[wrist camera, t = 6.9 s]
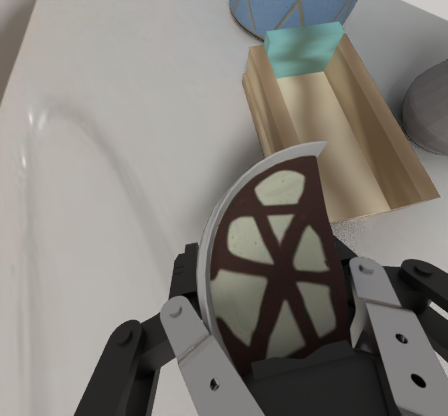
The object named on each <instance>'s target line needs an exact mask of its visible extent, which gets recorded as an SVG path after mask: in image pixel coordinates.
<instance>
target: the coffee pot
mask: <svg viewBox="0 0 448 416" xmlns="http://www.w3.org/2000/svg"><path fill="white" fill-rule="evenodd" d="M402 121H403V126H404V129H405V131H406V133H407V134H408V135H409V137H410V138H411V139H412V140H413V141H414V142H415V143H416V144H418V145H419V146H421V147H422V148H424V149H426V150H428V151H431V152H433V153H436V154H443V155H448V59H447V60H445V61H443V62H441V63H440V64H438V65H436V66H434V67H432V68H430V69H429V70H427V71H425V72H424V73H422V74H421V75H419V76H418V77H417V78H416V79H415V81H414V82H413V83H412V85H411V86H410V87H409V89H408V91H407V93H406V95H405V99H404V103H403V117H402Z"/></svg>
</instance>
